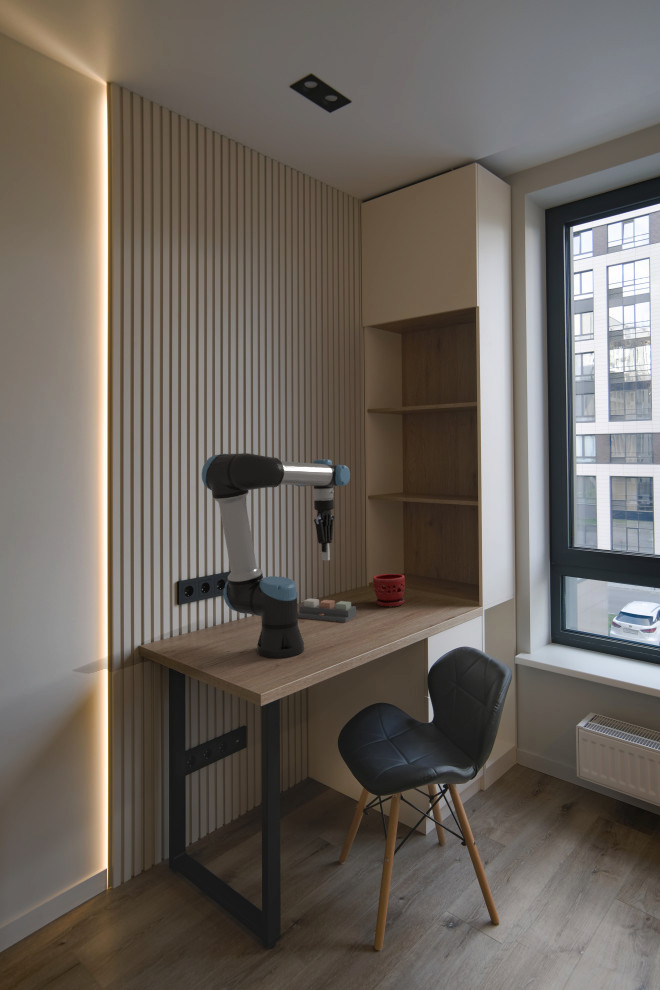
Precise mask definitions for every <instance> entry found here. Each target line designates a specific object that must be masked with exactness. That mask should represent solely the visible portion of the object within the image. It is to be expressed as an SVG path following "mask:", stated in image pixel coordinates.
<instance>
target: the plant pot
mask: <svg viewBox="0 0 660 990" xmlns="http://www.w3.org/2000/svg"><path fill="white" fill-rule="evenodd" d="M405 580H406V579H405V575H404V574H399V573H386V574H377V575H375V576H373V577H372V583H373V591H374V593H375V596H376V598H377V599H375V600H376V601H375V602H376V604H377V605H379V606H381V607H388V606H389V608H390V607H392V606H393V607H397V606H402V605H403V603H405V598H403V597H404V594H405V587H406V581H405Z"/></svg>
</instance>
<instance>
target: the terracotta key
mask: <svg viewBox="0 0 660 990" xmlns="http://www.w3.org/2000/svg"><path fill="white" fill-rule="evenodd" d="M335 602H336V601H335V600H333V599H332V600H330V599H323V600H321V601H319V603H320V608H329V609H331V608H332V607H334V606H335V605H336V603H335Z"/></svg>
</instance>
